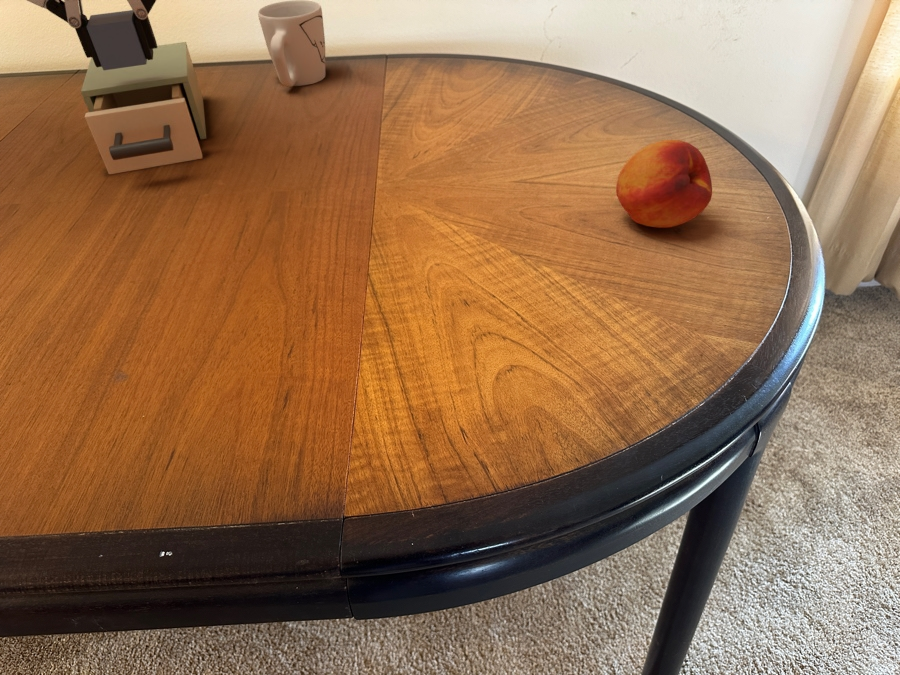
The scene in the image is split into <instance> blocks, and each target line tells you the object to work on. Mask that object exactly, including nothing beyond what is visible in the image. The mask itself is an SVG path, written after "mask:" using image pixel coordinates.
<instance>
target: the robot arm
mask: <svg viewBox="0 0 900 675" xmlns="http://www.w3.org/2000/svg"><path fill="white" fill-rule="evenodd" d="M26 1H27V2H29V3H31V4H33V5H35V6H38V7H40V8H42V9H43V8H44V9H46V10H47V11H48V12H50V13H51V14H53V15H54V16H56V17H58V18H59V19H61V20H62V21H64V22H65V23H68V25H69V26H70V28H73V29H74V30H75V33H76V34H77V38H78V40H79V43H80V44H81V48H82V50H83V52H84V55H85V57H86V58H87V59H91V57H92V58H93V61H94V63H95V66H96V67H102V66H101V63H100V60H99V58H98V55H97V53H96V50H95V48H94V45H93V42H92V40H91V37H90V35H89V32H88V30H87V27H86V26H87V24H88V21H89V19H88V17H87V15H85V13H84V6H83V1H82V0H26ZM126 1H127V3H128V4H129V7H130V8H131V10H133V16H134V21H133V23H134V26H135V29H136V32H137V35H138V38H139V41H140V44H141V47H142V50H143V52H144V55H145V58H146V59H148V60H153V49H155V48H157V46H158V43H157V39H156V37H155V33H154V30H153V27H152V24H151V21H150V19H149V14H150V12H151V11H152V9H153V7H154V5H155V3H156V2H157V0H126Z"/></svg>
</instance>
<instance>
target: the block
mask: <svg viewBox="0 0 900 675" xmlns="http://www.w3.org/2000/svg"><path fill="white" fill-rule="evenodd" d="M88 20H89V21H88V24H87V26H86V27H87V30H88V32H89V35H90V37H91V40H92V42H93V45H94V48H95V50H96V53H97V55H98V58H99V60H100V63H101V66H102V68H103V70H110V69H117V68H124V67H131V66H138V65H145V64H147V59H146V58H145V55H144V52H143V50H142V47H141V44H140V41H139V38H138V35H137V32H136V29H135V26H134V23H133V21H134V16H133V10H132V9H130V10H122V11H115V12H114V11H113V12H105V13H97V14H90V15H89V19H88Z"/></svg>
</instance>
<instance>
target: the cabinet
mask: <svg viewBox="0 0 900 675" xmlns="http://www.w3.org/2000/svg"><path fill="white" fill-rule="evenodd" d="M177 83H183V85H184V88H185V92H186V95H187V98H188V101H189V104H190V108H191V111H192V114H193V117H194V120H195V128H196V130H197V133H198V136H199V140H204V139H207V130H206V129H207V128H206V117H205V106H204V105H205V104H204V97H203V95H202V91H201V87H200V85H199V81H198V77H197V74H196V71H195V67H194V64H193V60H192V57H191V54H190V50H189V48H188V44H187V42H186V41H182V42H174V43H167V44H166V43H165V44H160V45H159V44H158V45H157V48H155V49H153V60H148V59H147V64H145V65H138V66H131V67H124V68H117V69H110V70H103V68H102V67H96V66H95V63H94V61H93V58H92V57H90V61H89V64H88V66H87V70H86V74H85V77H84V80H83V83H82V87H81V89H80V93H81V97H82V99H83V101H84V104H85V106H86V108H87V110H88V112H94V110H93V108H94V104H95V100H96V96H97V95H103V94H110V93H117V92H124V91H130V90H137V89H144V88H150V87H157V86H164V85H171V84H177Z"/></svg>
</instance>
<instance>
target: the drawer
mask: <svg viewBox="0 0 900 675" xmlns="http://www.w3.org/2000/svg"><path fill="white" fill-rule="evenodd" d="M93 110H94V112H89V111H88V112H85V115H84V120H85V122H86V124H87V126H88V128H89V131H90V133H91V135H92V138H93V141H94V142H95V145H96V148H97V149H98V152H99V154H100V156H101V160H102V161H103V164H104V166H105V169H106V171H107V173H108V175H114V174H119V173H127V172H131V171H137V170H142V169H143V170H145V169H150V168H154V167H155V168H156V167H161V166H167V165H172V164H178V163H183V162H184V163H185V162H188V161H195V160H201V159H203V153H202V152H203V151H202V149H201V146H200V142H199V140H198V137H197V132H196V124H195V120H194V117H193V114H192V111H191V108H190V104H189V101H188V98H187V95H186V92H185V88H184V85H183V83H177V84H171V85H164V86H157V87H150V88H144V89H137V90H130V91H124V92H117V93H110V94H103V95H97V96H96V100H95V104H94V108H93Z"/></svg>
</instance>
